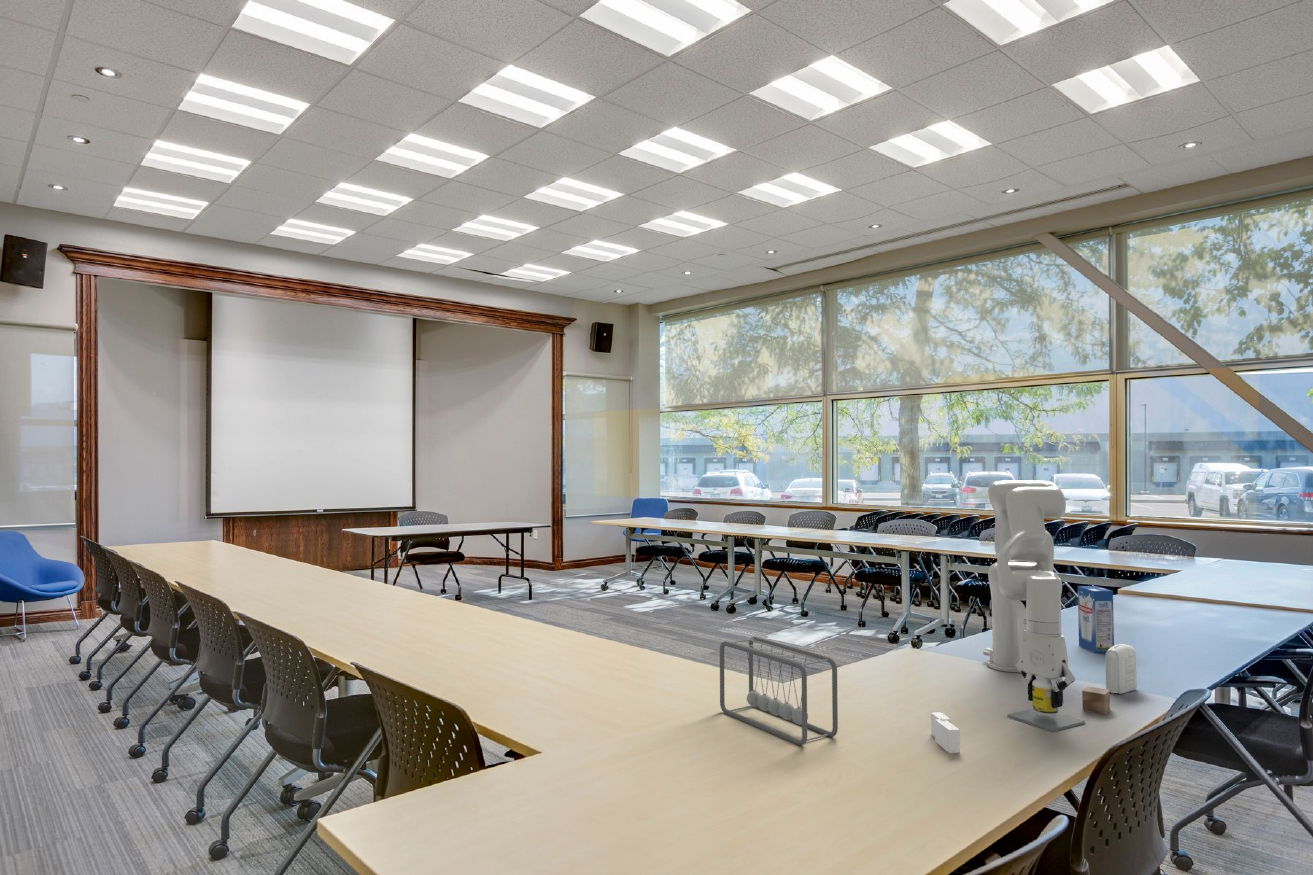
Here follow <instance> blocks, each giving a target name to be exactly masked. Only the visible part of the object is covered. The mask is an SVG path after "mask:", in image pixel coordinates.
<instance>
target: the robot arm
mask: <svg viewBox="0 0 1313 875" xmlns="http://www.w3.org/2000/svg"><path fill="white" fill-rule="evenodd" d="M987 489H988V490H987V491H988V492H987V493H988V495H987V496H988V499H989V503H990V505H991V507H992V510H993V512H994V518H995V520H994V551H995V552H994V553H995V555H996V556H997V559H996V560H997V561H996V562H994V563H992V564H991V565H990V566H989V568H988V571H987V573H988V574H987V576H988V583H989V584H988V585H989V589H990V596H991V621H992V622H991V624H992V628H991V629H992V632H991V633H992V639H991V640H992V648H989V647H986V648H984V650H983V653H982V655H983V656H988V657H989V659H988V660H987V666H988V667H989V668H990V669H993V670H997V671H1001V672H1006V673H1018V674H1019V673H1020V674H1021V675H1022V677H1023V678H1024V681H1025V684H1027V700H1028V701H1030V702H1033V692H1032V682H1033V680H1035V679H1036V677H1035V675H1037V676H1040V677H1044V678H1048V679H1051V683H1052V686H1053V689H1054V690H1053V691H1051V706H1052V708H1058V709H1059V708H1062V707H1063V705H1064V691H1066V689H1067V687H1069V686H1070V685H1071V684H1073V683H1074V682H1076V680H1077V679H1076V677H1075V676H1074V674H1073V673H1072V671H1071V670H1070V668H1069V657H1068V650H1067V643H1066V640H1065V636H1064V635H1063V634H1062V592H1063V582H1062V579H1061V578H1060V576H1059V575H1058V574H1057V573H1056V572H1054V558H1055V545H1054V539H1053V536H1052V535H1051V533H1050V532H1049V531H1047V529H1046V526H1045V519H1061V518H1062V517H1063V516H1065V513H1066V508H1067V503H1066V499H1065V498H1066V497H1065V495H1064V492H1063V491H1062V490H1061V488H1060V487H1058V485H1057V484H1055V483H1054V482H1052V481H1050V480H1048V481H1047V480H996V481H993V482H991V483H990V484H989V486H988V488H987ZM1022 601H1025V602H1026V604H1025V605H1024V603H1023V602H1022ZM1025 606H1026V607H1025Z"/></svg>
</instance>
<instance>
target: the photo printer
mask: <svg viewBox="0 0 1313 875" xmlns="http://www.w3.org/2000/svg"><path fill="white" fill-rule="evenodd" d="M1137 687H1138V680H1137V652H1136V650H1135V648H1134V647H1133V646H1131V645H1129V644H1125V643H1124V644H1123V643H1118V644H1114V646H1113V647H1111V648H1110V649H1109V650H1108V651H1107V652H1106V653H1105V689H1107V690H1110V692H1111V693H1110V694H1114V693H1119V694H1118V695H1120V694H1125V693H1127V692H1131V691H1135V690H1136V689H1137Z"/></svg>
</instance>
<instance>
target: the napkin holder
mask: <svg viewBox="0 0 1313 875" xmlns="http://www.w3.org/2000/svg"><path fill="white" fill-rule="evenodd" d="M960 731H961V730H960V729H959V727H957V726H956V725H954V724H953V723H951V718H949V717H948V716H947V715H945V713H942V712H936V711H935V712H934V711H933V712H930V734H931V736H933V737H934V742H935V743H936V744H938V746H940V747H941V748H943V750H945V751H947V753H949V754H959V753H961V740H960V739H961V737H960V736H961V732H960Z"/></svg>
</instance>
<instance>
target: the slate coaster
mask: <svg viewBox="0 0 1313 875" xmlns="http://www.w3.org/2000/svg"><path fill="white" fill-rule="evenodd" d="M1006 717H1007V718H1009V719H1012V720H1015V721H1018V722H1022V723H1025V724H1028V725H1030V726H1035V727H1037V728H1039V729H1042V730H1045V731H1049V732H1052V733H1053V732H1056V731H1061V730H1065V729H1069V728H1073V727H1077V726H1082V725H1085V724H1086V720H1084V719H1080V718H1078V717H1077V718H1076V717H1073V716H1070V715H1066V714H1064V713H1061V712H1058V714H1057V715H1055V716H1043V715H1039V714H1037V713H1035V712H1034V711H1033V708H1028V709H1023V710H1020V711H1015V712H1012V713H1011V712H1010V713H1007V714H1006Z"/></svg>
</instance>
